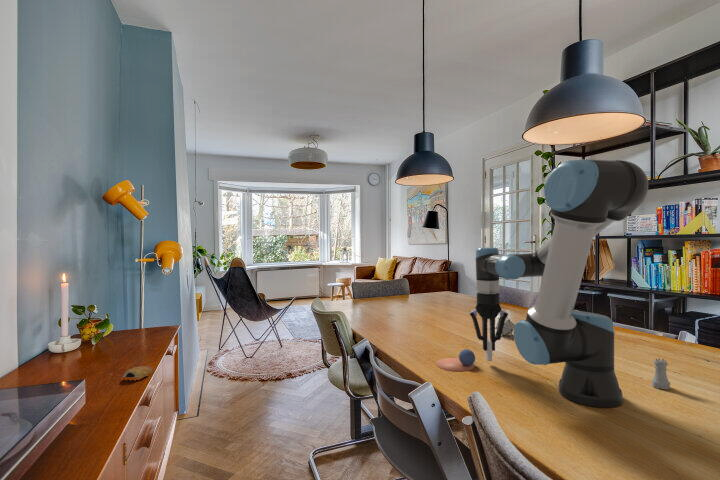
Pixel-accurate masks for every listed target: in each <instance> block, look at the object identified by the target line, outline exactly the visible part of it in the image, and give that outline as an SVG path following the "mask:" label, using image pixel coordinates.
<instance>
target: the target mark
mask: <svg viewBox="0 0 720 480" xmlns="http://www.w3.org/2000/svg"><path fill="white" fill-rule="evenodd" d="M436 366H437V367H438V368H439V369H442V370H446V371H451V372H467V371H471V370H473V369H474V368H475V367H476V366H475V362H474V363H473V364H472V365H470V366H465V365H463V364H462V363H461V362H460V360H459V357H445V358H441V359H438V360H437V361H436Z"/></svg>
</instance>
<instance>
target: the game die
mask: <svg viewBox="0 0 720 480" xmlns="http://www.w3.org/2000/svg"><path fill="white" fill-rule="evenodd" d="M499 318H500V317H498V318H497V319H498V321H497V323H496V325H495V330H497V327H498V323H499ZM514 326H515V324H514V323H513V322H512V321H511V319H510V318H509V316H507V317H506V319H505V322H504V326H503V331H502V335H501V336H502V337H504V336H507V335H511V337H514V334H513V333H514Z"/></svg>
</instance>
